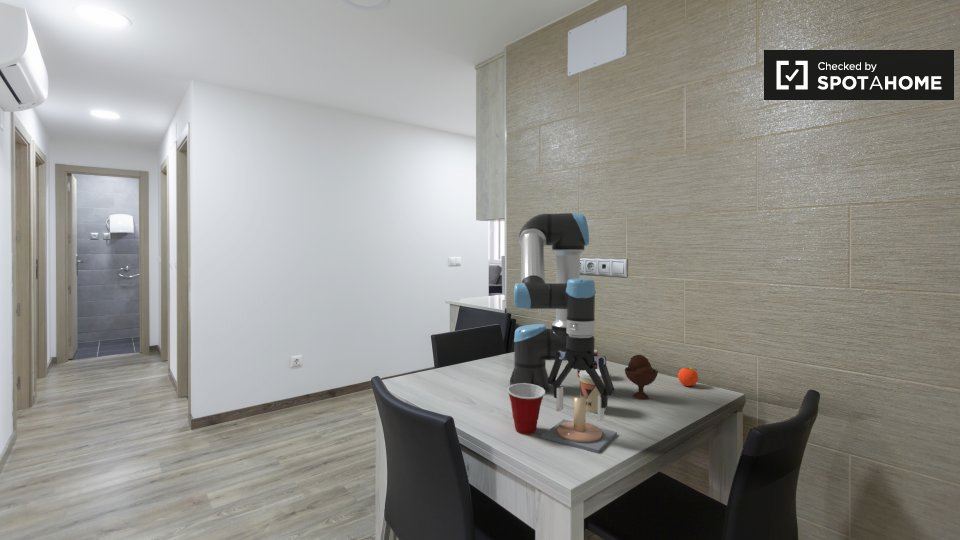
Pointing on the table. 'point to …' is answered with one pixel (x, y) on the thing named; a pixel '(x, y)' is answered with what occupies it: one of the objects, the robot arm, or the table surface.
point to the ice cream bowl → (640, 374)
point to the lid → (579, 425)
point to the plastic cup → (525, 406)
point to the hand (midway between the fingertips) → (579, 414)
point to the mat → (592, 446)
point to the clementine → (688, 376)
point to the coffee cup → (589, 391)
